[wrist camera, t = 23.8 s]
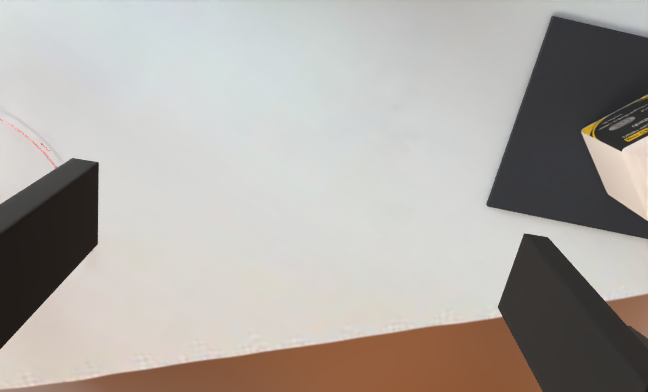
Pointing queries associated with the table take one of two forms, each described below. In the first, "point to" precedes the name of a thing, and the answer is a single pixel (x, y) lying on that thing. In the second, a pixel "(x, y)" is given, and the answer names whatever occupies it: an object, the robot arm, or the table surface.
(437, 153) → the table surface
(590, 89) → the mat
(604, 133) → the medicine bottle
